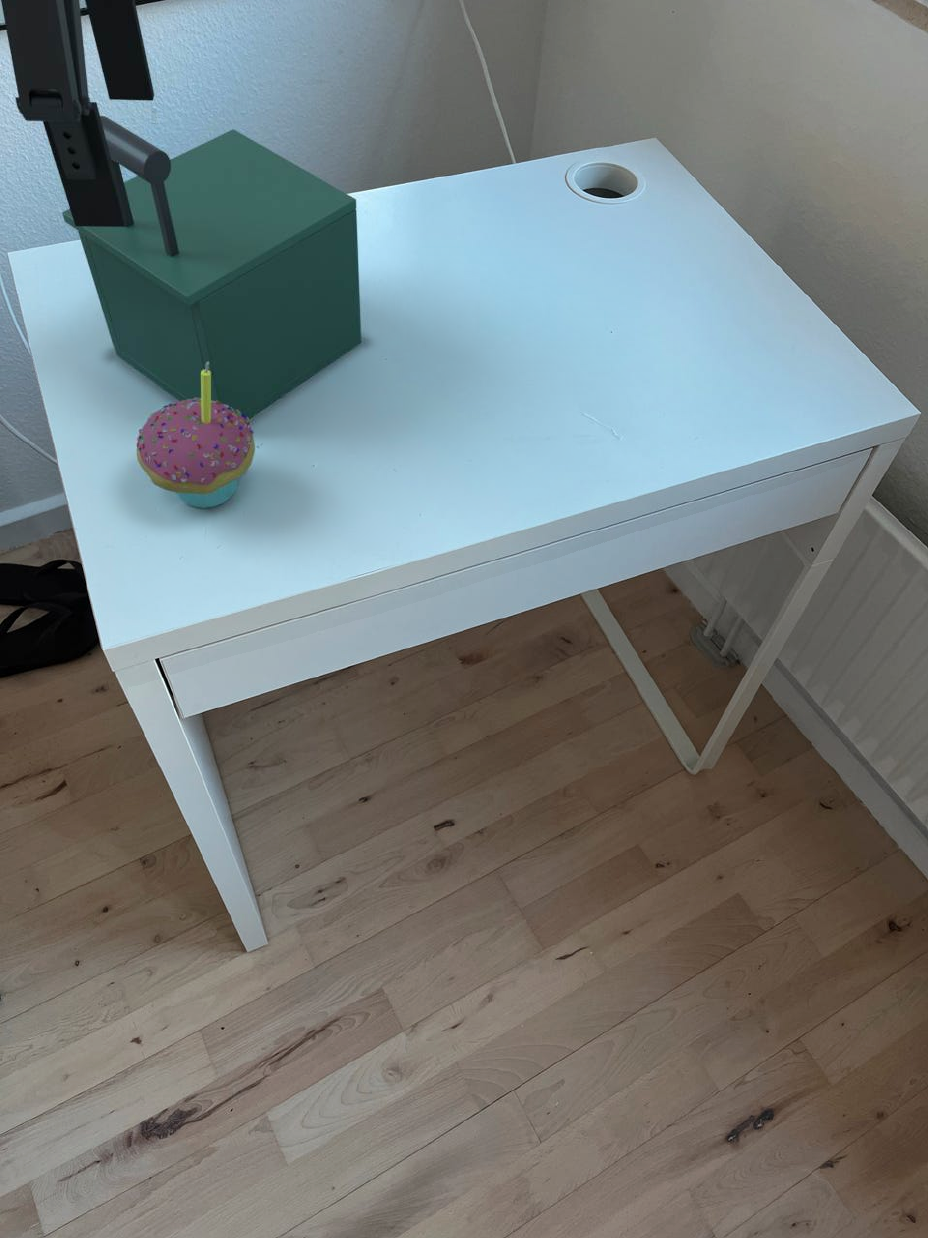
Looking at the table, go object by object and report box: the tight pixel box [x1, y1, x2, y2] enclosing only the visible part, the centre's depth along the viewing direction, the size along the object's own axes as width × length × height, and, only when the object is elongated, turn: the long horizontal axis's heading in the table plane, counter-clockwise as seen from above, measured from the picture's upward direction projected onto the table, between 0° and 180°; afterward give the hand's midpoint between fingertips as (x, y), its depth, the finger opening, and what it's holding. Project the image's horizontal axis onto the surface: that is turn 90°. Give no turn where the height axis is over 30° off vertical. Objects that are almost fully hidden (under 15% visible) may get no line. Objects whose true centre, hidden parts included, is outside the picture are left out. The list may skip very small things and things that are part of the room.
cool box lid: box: [61, 115, 357, 306], centre depth 68 cm, size 17×14×8 cm
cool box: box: [77, 208, 362, 420], centre depth 77 cm, size 16×14×13 cm
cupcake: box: [136, 362, 256, 509], centre depth 69 cm, size 9×8×12 cm
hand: (117, 156), depth 56 cm, fingers open, 13 cm apart
